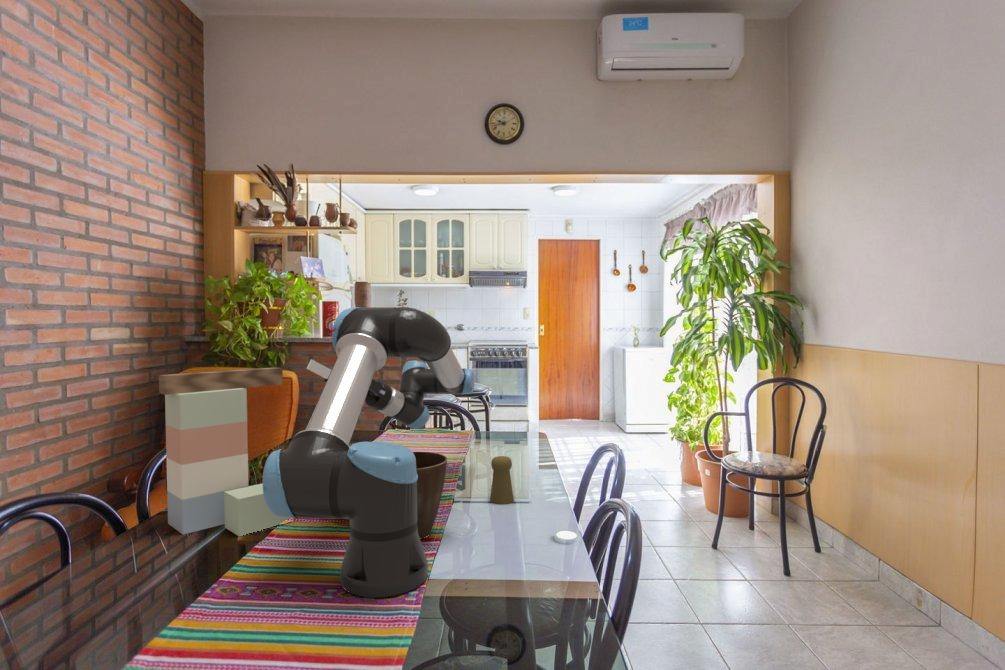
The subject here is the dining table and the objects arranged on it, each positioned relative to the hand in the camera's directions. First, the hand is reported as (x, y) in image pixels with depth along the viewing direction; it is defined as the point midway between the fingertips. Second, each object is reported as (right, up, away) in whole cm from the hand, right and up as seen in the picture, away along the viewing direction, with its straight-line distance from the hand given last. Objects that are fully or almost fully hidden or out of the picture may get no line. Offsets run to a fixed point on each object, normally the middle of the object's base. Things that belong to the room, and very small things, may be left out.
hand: (322, 365), depth 144 cm
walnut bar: (-19, -5, -12) cm, 23 cm away
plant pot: (+27, -35, -24) cm, 50 cm away
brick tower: (-21, -35, -14) cm, 43 cm away
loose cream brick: (-9, -35, -17) cm, 40 cm away
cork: (+46, -34, -1) cm, 57 cm away
